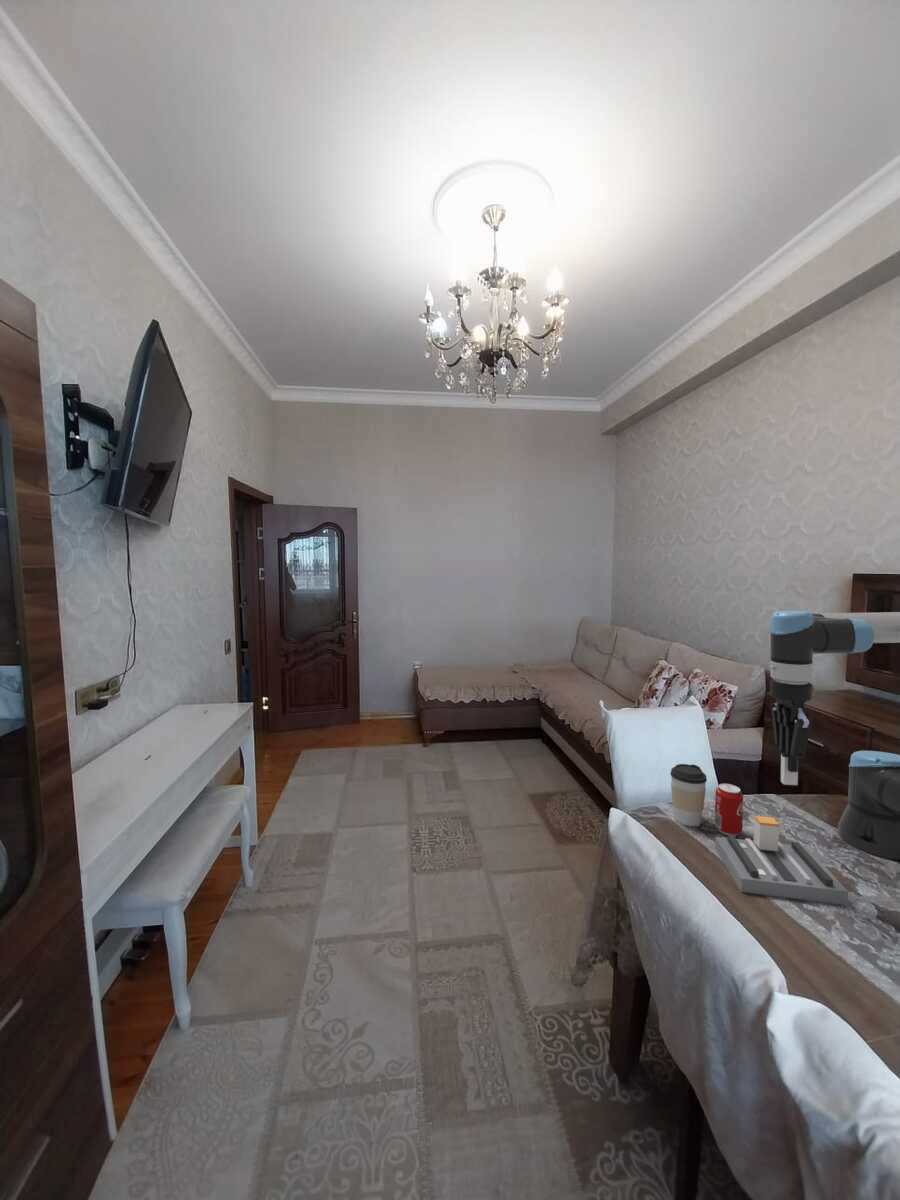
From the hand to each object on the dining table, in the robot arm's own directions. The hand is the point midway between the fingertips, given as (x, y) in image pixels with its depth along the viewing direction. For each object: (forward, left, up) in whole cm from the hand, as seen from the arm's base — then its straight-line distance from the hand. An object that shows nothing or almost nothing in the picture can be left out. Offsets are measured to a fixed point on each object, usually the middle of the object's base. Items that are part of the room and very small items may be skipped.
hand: (789, 783), depth 104 cm
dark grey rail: (+9, 0, -22) cm, 23 cm away
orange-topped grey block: (+2, -5, -18) cm, 19 cm away
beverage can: (+6, -17, -22) cm, 28 cm away
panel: (+2, 0, -22) cm, 22 cm away
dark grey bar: (-5, 0, -22) cm, 22 cm away
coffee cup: (+15, -21, -22) cm, 34 cm away
